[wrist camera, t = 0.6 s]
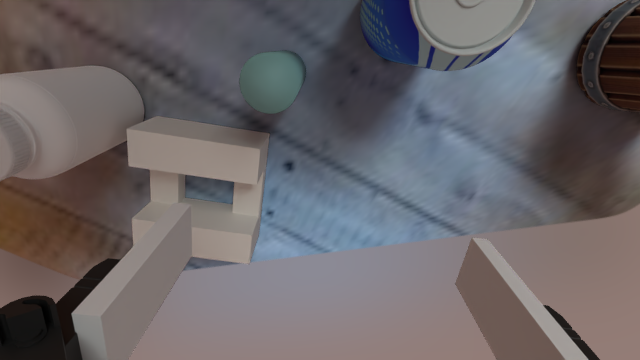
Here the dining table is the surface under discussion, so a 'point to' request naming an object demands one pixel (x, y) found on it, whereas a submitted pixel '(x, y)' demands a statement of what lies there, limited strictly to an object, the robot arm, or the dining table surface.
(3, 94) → the pill bottle
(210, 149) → the socket
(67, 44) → the dining table surface
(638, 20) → the mug
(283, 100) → the peg
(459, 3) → the beer can
